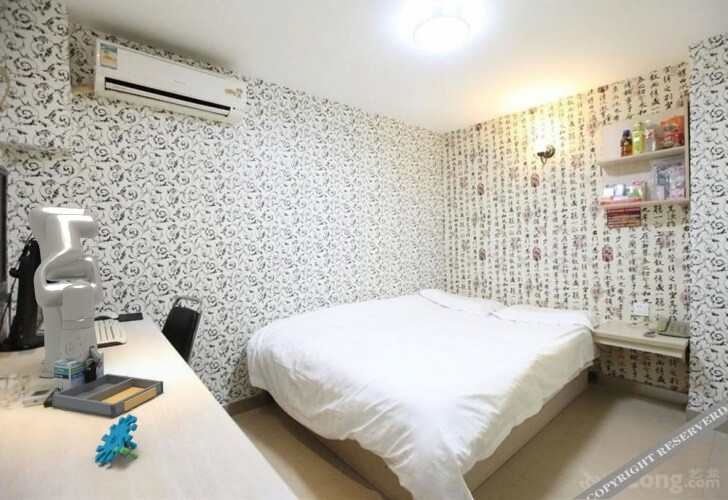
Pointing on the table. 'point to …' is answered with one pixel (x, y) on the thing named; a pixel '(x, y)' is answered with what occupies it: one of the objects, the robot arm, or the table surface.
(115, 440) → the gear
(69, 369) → the light bulb box
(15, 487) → the table surface
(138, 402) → the bay tray
